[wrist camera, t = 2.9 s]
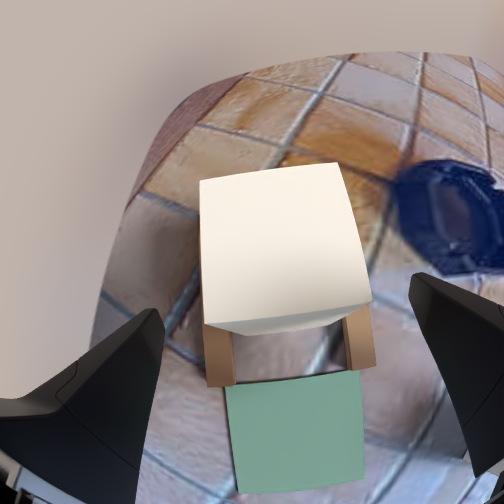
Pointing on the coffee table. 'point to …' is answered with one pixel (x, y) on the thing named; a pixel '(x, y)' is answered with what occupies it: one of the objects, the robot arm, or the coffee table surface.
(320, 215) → the cream block
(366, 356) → the brown wooden frame
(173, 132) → the coffee table surface
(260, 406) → the green mat
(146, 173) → the coffee table surface
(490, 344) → the robot arm
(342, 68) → the coffee table surface
